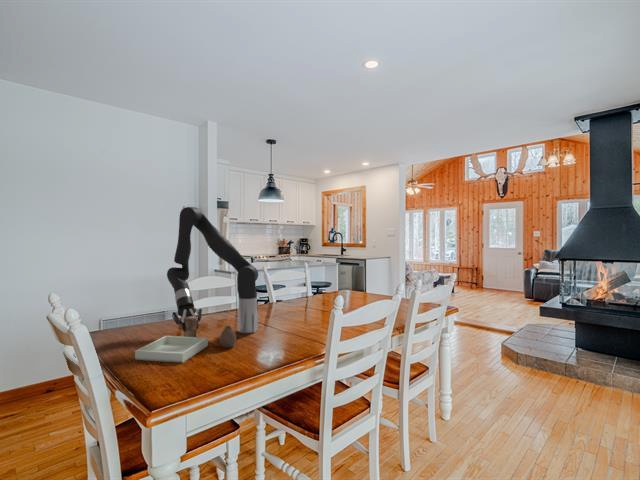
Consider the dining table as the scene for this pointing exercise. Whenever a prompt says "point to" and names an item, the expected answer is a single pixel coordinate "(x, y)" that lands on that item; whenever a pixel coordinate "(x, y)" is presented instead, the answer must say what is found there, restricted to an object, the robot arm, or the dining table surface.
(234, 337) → the grey rounded egg shape
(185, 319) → the walnut block
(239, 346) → the dining table surface
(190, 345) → the sage tray
